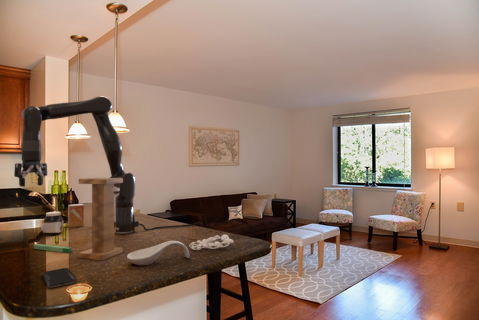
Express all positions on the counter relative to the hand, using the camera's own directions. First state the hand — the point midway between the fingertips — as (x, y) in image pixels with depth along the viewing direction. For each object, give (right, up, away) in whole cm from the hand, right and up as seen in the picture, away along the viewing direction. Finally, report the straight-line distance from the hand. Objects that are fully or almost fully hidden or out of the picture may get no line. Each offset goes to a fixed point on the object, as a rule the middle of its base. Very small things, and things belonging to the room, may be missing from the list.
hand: (31, 186), depth 147 cm
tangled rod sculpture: (+83, -28, -1) cm, 88 cm away
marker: (+12, -28, -4) cm, 31 cm away
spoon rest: (+63, -28, -21) cm, 72 cm away
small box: (-5, -29, +50) cm, 58 cm away
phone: (+35, -28, -40) cm, 60 cm away
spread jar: (-8, -29, +29) cm, 41 cm away
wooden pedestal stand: (+37, -28, -12) cm, 48 cm away
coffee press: (+15, -29, +57) cm, 65 cm away
